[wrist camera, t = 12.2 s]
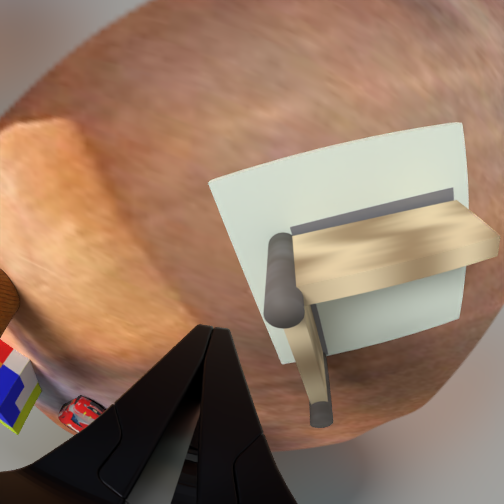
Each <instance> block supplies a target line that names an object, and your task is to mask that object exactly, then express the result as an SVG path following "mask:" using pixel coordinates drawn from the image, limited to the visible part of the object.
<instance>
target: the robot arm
mask: <svg viewBox="0 0 504 504" xmlns="http://www.w3.org/2000/svg"><path fill="white" fill-rule="evenodd" d="M0 504H297V502H296V500H295V499H294V497H293V495H292V494H291V492H290V490H289V489H288V487H287V485H286V483H285V481H284V479H283V477H282V475H281V473H280V472H279V470H278V468H277V466H276V463H275V461H274V458H273V456H272V453H271V451H270V449H269V446H268V443H267V440H266V438H265V435H264V434H263V430H262V427H261V424H260V421H259V418H258V415H257V412H256V409H255V406H254V403H253V400H252V398H251V395H250V392H249V389H248V385H247V382H246V379H245V376H244V373H243V370H242V367H241V364H240V361H239V358H238V355H237V351H236V348H235V345H234V342H233V339H232V335H231V332H230V330H229V329H227V328H221V327H215V328H214V329H213V327H212V326H208V325H202V324H199V325H197V326H196V327H195V328H193V329H192V330H191V331H190V332H189V333H188V334H187V335H186V336H185V337H184V338H183V339H182V340H181V341H180V342H179V343H178V344H177V345H176V346H174V347H173V348H172V349H171V350H170V351H169V352H168V353H167V354H166V355H165V356H164V357H163V358H162V359H161V360H160V361H158V362H157V363H156V364H155V365H154V366H153V367H152V368H151V369H150V370H149V371H148V372H147V373H146V374H145V375H143V376H142V377H141V378H140V379H139V380H138V381H137V382H136V383H135V384H134V385H133V386H132V387H131V388H129V389H128V390H127V391H126V392H125V393H124V394H123V395H122V396H121V397H120V398H119V399H118V400H116V401H115V405H114V404H112V405H111V406H110V407H109V408H108V409H106V410H105V411H104V412H103V413H102V414H101V415H100V416H99V417H97V418H96V419H95V420H94V421H93V422H92V423H90V424H89V425H88V426H87V427H85V428H84V429H83V430H81V431H80V432H79V433H77V434H76V435H74V436H73V437H72V438H70V439H69V440H67V441H66V442H64V443H63V444H61V445H60V446H58V447H57V448H55V449H54V450H52V451H51V452H49V453H48V454H47V455H45V456H43V457H42V458H40V459H39V460H37V461H35V462H34V463H32V464H30V465H28V466H26V467H23V468H20V469H16V470H11V471H3V472H0Z"/></svg>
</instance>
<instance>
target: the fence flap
mask: <svg viewBox="0 0 504 504" xmlns="http://www.w3.org/2000/svg"><path fill="white" fill-rule="evenodd" d="M499 243H500V235H499V234H498V233H497V232H495V231H494V230H493V229H492V228H491V227H490V226H488V225H487V224H486V223H485V222H484V221H482V220H481V219H480V218H479V217H478V216H476V215H475V214H474V213H473V212H471V211H470V210H469V209H468V208H466V207H465V206H464V205H463V204H461V203H460V202H459V201H457V200H454V201H449V202H444V203H440V204H435V205H431V206H426V207H421V208H417V209H412V210H408V211H403V212H398V213H394V214H389V215H385V216H380V217H376V218H371V219H367V220H362V221H358V222H353V223H349V224H344V225H340V226H335V227H331V228H326V229H322V230H317V231H313V232H308V233H304V234H300V235H295V236H293V235H291V234H289V233H284V232H282V233H277V234H275V235H274V236H272V237H271V239H270V240H269V243H268V257H267V271H266V285H265V299H264V312H263V314H264V318H265V320H266V321H267V323H269V324H270V325H271V326H273V327H276V328H282V329H286V328H291V327H294V326H296V325H298V324H299V323H300V322H301V321H302V320H303V318H304V315H305V309H304V306H306V305H311V304H316V303H321V302H325V301H330V300H335V299H339V298H344V297H348V296H353V295H357V294H362V293H366V292H370V291H374V290H378V289H383V288H387V287H391V286H395V285H399V284H403V283H406V282H410V281H414V280H418V279H422V278H425V277H429V276H433V275H436V274H440V273H443V272H447V271H450V270H454V269H457V268H460V267H464V266H467V265H470V264H474V263H477V262H480V261H483V260H486V259H490V258H493V257H496V256H498V250H499Z"/></svg>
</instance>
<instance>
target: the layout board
mask: <svg viewBox="0 0 504 504" xmlns="http://www.w3.org/2000/svg"><path fill="white" fill-rule="evenodd" d="M208 184H209V186H210V189H211V191H212V194H213V197H214V199H215V202H216V204H217V207H218V209H219V212H220V214H221V217H222V219H223V222H224V224H225V227H226V229H227V232H228V234H229V237H230V239H231V242H232V244H233V247H234V249H235V252H236V254H237V257H238V259H239V262H240V264H241V267H242V269H243V271H244V274H245V276H246V279H247V281H248V284H249V286H250V289H251V291H252V294H253V296H254V298H255V301H256V303H257V306H258V308H259V311H260V313H261V315H262V318H263V320H264V323H265V325H266V327H267V330H268V332H269V335H270V337H271V339H272V342H273V344H274V347H275V349H276V351H277V354H278V356H279V359H280V361H281V363H282V364H286V363H292V362H295V359H294V356H293V354H292V351H291V348H290V345H289V343H288V340H287V337H286V334H285V332H284V329H282V328H276V327H273V326H271V325H270V324H269V323H267V321H266V320H265V318H264V314H263V312H264V299H265V285H266V271H267V257H268V243H269V240H270V239H271V237H272V236H274V235H275V234H277V233H282V232H284V233H289V234H291V235H293V236H295V235H300V234H304V233H308V232H313V231H317V230H322V229H326V228H331V227H335V226H340V225H344V224H349V223H353V222H358V221H362V220H367V219H371V218H376V217H380V216H385V215H389V214H394V213H398V212H403V211H408V210H412V209H417V208H421V207H426V206H431V205H435V204H440V203H444V202H449V201H454V200H457V201H459V202H460V203H461V204H463V205H464V206H465V207H466V208H468V176H467V162H466V151H465V142H464V134H463V126H462V123H459V122H454V123H446V124H439V125H433V126H426V127H420V128H414V129H409V130H403V131H398V132H392V133H387V134H382V135H377V136H372V137H367V138H363V139H358V140H353V141H349V142H345V143H340V144H336V145H332V146H328V147H323V148H319V149H315V150H311V151H308V152H304V153H300V154H296V155H292V156H289V157H285V158H281V159H278V160H274V161H271V162H267V163H264V164H260V165H257V166H254V167H250V168H247V169H244V170H240V171H237V172H234V173H231V174H228V175H224V176H221V177H218V178H215V179H212V180H210V181H209V183H208ZM468 209H469V208H468ZM465 272H466V266H464V267H460V268H457V269H454V270H450V271H447V272H443V273H440V274H436V275H433V276H429V277H425V278H422V279H418V280H414V281H410V282H406V283H403V284H399V285H395V286H391V287H387V288H383V289H378V290H374V291H370V292H366V293H362V294H357V295H353V296H348V297H344V298H339V299H335V300H330V301H325V302H321V303H316V304H311V309H312V313H313V316H314V320H315V324H316V328H317V332H318V335H319V339H320V343H321V347H322V351H323V352H324V353H325V354H326V356H328V355H333V354H338V353H342V352H346V351H351V350H355V349H359V348H363V347H367V346H371V345H375V344H379V343H382V342H386V341H390V340H393V339H397V338H400V337H404V336H407V335H411V334H414V333H417V332H420V331H423V330H427V329H430V328H433V327H436V326H439V325H442V324H445V323H447V322H450V321H453V320H456V319H459V316H460V310H461V304H462V297H463V289H464V281H465Z"/></svg>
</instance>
